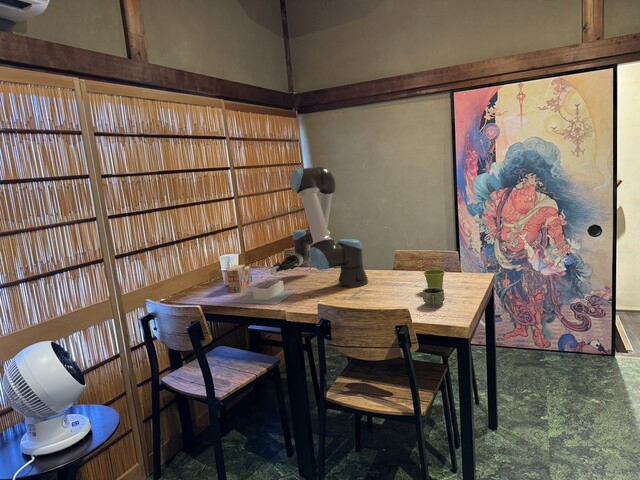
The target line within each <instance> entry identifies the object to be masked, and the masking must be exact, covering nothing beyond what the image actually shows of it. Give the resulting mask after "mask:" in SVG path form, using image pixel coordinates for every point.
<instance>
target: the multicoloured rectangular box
mask: <svg viewBox="0 0 640 480" xmlns="http://www.w3.org/2000/svg"><path fill="white" fill-rule="evenodd" d="M226 274H227V275H226V276H227V282H228V288H229V293H241V292H242V291H243V290H245V289H246V288H247V287H248V286H249V285H250V284H251V283H252V282H253V274H252V269H251V265H245V264H235V265H232V267H230V268H229V269H227V270H226Z"/></svg>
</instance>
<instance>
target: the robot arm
mask: <svg viewBox="0 0 640 480" xmlns="http://www.w3.org/2000/svg"><path fill="white" fill-rule="evenodd" d="M290 187H291V190H292V192H293V193H297V197H299V198H300V199H301V200H302V204H303V208H304V211H305V217H306V219H307V222H308V223H307V224H308V227H309V230H310V231H309V232H306V230H305V229H296V230H294V231H293V232H292V240H293V247H294V248H293V249H294V253H292V254H290V255H288V256H286V257H285V259H283V260H282V261H281V262H280V261H276V263H275V264H273V266H272V267H271V268H270V270H269V272H270V275H275V274H277V273H279V272H283V271H288V270H293V269H296V268H298V267H299V266H301V265H303V264H306V263H307V262H309V261H310V262H311V264H312V265H313V267H314V268H315V269H317V270H319V271H321V270H328V269H333V268H337V267H340V272H339V277H338V286H340V287H342V288H357V287H362V286H366V285H367V284H369V278H368V276H367V274H366V270H365V268H364V262H363V261H364V260H363V247H362V242H361V241H360V240H359V239H354V238H352V239H351V238H346V239H345V238H341V239H338V240H337V242H336V243H335V241H334V239H333V238H332V237H331V232H330V230H329V229H328V226H329V220H330V213H331V207H332V200H333V194H334V193H335V191H336V180H335V177H334V175H333V173H332V172H331V171H330V170H329V169H328V168H326V167H324V166H313V167H305V168H302V167H301V168H295V169H294V170H293V171H292V173H291V177H290ZM308 246H311V248H310V249H308Z"/></svg>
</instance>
